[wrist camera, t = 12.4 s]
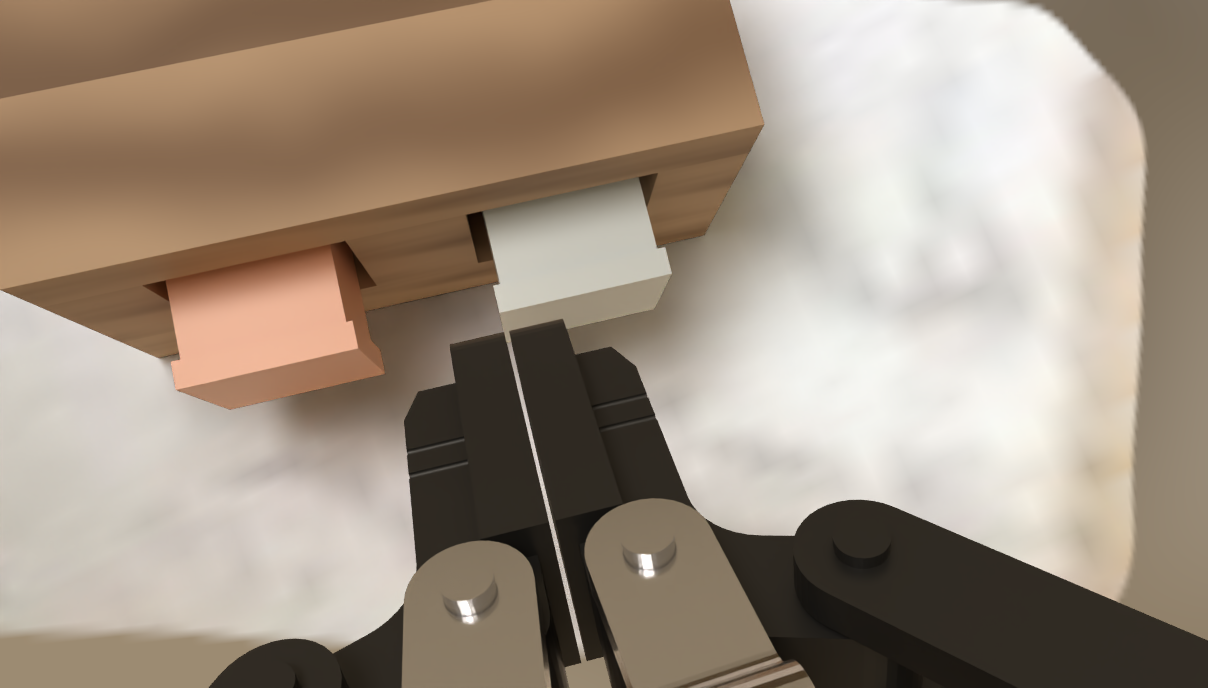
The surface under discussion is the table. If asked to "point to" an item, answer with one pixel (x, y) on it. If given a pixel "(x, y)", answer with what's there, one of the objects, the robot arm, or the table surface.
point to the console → (341, 136)
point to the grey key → (576, 257)
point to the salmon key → (272, 328)
